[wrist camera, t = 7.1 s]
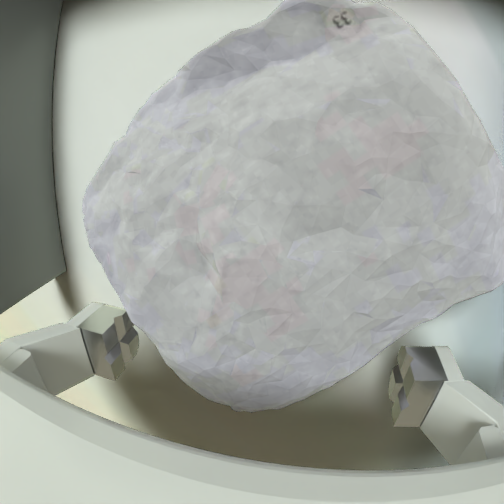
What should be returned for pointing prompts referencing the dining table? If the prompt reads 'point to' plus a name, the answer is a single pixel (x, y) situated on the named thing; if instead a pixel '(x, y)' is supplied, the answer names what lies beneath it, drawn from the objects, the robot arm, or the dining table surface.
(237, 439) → the dining table surface
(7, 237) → the box
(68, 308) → the dining table surface
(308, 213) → the stone block
